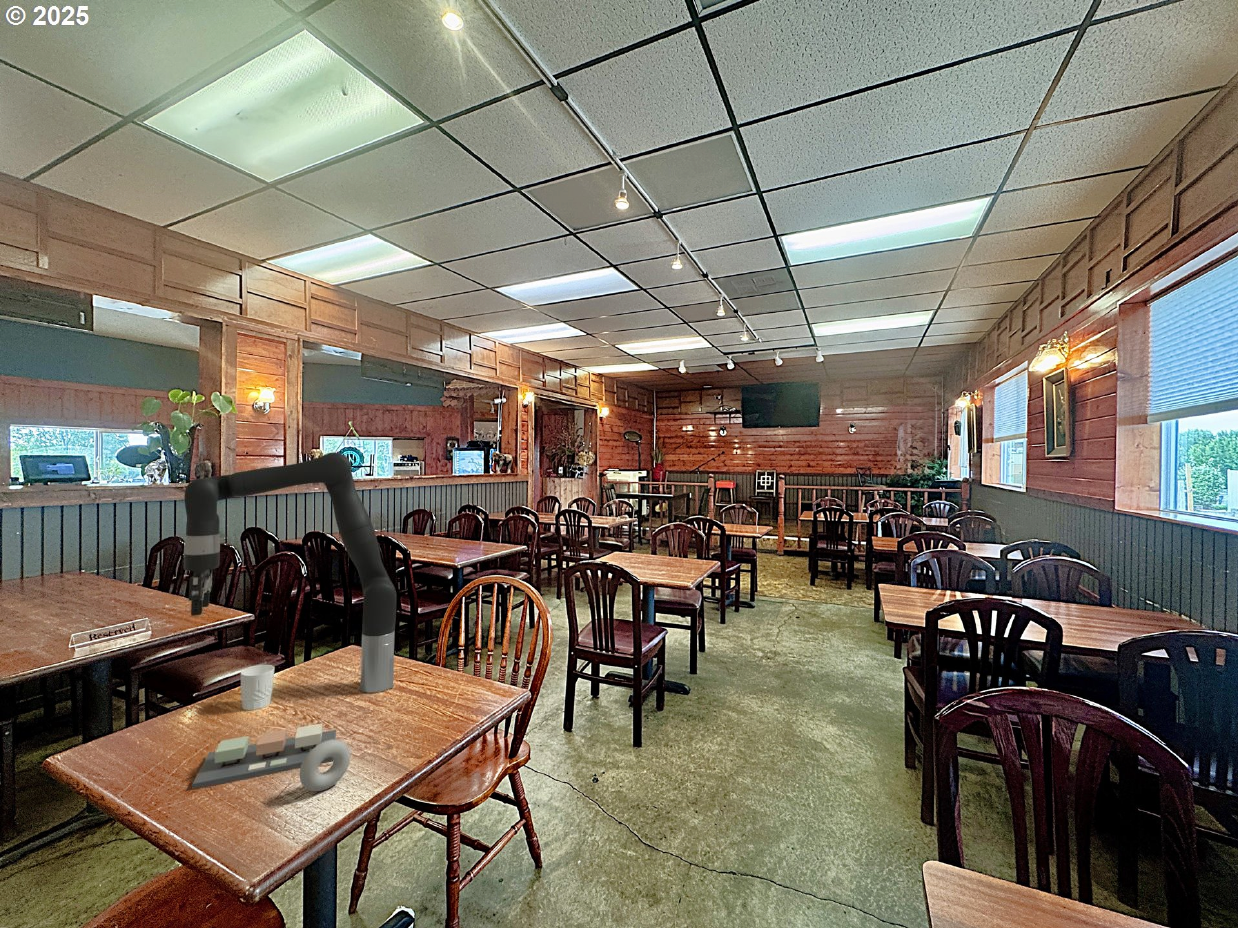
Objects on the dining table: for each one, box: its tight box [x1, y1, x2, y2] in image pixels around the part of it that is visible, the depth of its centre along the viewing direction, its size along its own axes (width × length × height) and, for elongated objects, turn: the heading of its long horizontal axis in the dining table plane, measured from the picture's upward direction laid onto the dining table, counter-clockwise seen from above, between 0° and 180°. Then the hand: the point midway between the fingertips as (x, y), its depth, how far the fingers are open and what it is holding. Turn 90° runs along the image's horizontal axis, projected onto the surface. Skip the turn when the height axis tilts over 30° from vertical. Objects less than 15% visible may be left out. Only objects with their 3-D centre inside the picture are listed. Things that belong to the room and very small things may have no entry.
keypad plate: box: [191, 729, 337, 790], centre depth 119 cm, size 26×13×2 cm, turn 117°
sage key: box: [215, 735, 250, 765], centre depth 115 cm, size 5×5×4 cm
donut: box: [299, 739, 352, 792], centre depth 109 cm, size 10×4×10 cm, turn 141°
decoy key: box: [256, 729, 288, 758], centre depth 119 cm, size 5×5×4 cm
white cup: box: [240, 664, 276, 711], centre depth 145 cm, size 8×8×10 cm
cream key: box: [294, 723, 323, 750], centre depth 122 cm, size 5×5×4 cm
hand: (200, 610), depth 137 cm, fingers open, 8 cm apart
